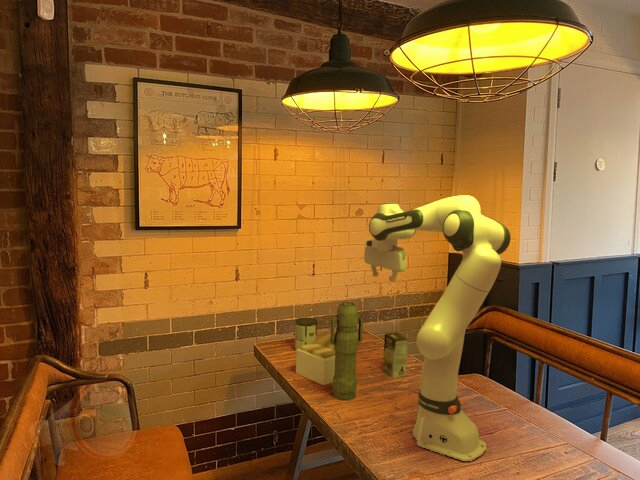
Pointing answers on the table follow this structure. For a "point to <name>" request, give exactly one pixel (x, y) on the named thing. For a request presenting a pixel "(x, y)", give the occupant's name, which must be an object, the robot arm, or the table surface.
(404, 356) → the coffee box
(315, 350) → the laid board
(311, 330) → the coffee can
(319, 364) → the display stand
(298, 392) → the table surface
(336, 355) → the thermos
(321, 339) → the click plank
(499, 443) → the table surface
